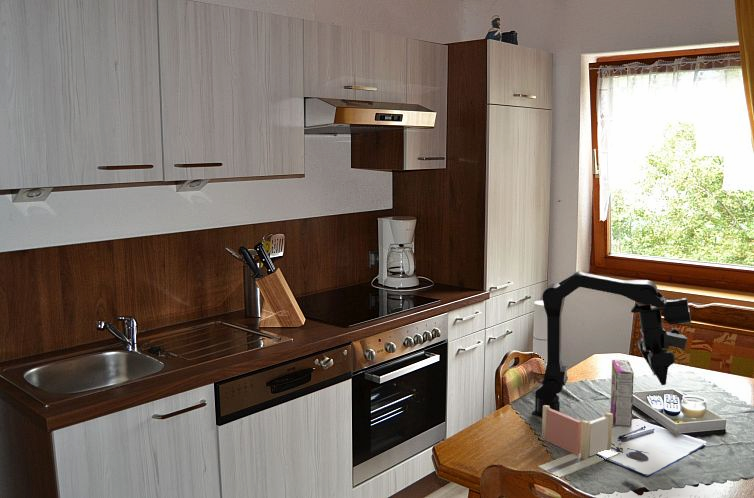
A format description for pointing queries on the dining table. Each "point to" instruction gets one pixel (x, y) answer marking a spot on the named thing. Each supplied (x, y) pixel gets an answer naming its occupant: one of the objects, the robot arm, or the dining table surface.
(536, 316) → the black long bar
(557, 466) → the card
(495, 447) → the dining table surface
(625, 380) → the candy bar box
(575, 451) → the panel
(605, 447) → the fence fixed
